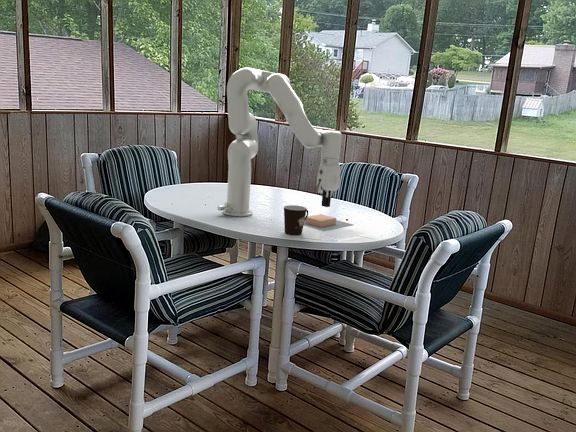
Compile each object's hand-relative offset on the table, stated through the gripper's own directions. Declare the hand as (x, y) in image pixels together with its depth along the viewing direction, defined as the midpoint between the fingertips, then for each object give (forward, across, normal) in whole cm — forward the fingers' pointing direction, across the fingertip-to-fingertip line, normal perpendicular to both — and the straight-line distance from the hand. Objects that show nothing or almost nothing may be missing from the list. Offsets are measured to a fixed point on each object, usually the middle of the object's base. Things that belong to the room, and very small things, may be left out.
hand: (325, 206), depth 228 cm
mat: (+8, -1, 0) cm, 8 cm away
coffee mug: (+8, -21, -4) cm, 23 cm away
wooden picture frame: (+6, +3, 0) cm, 6 cm away
